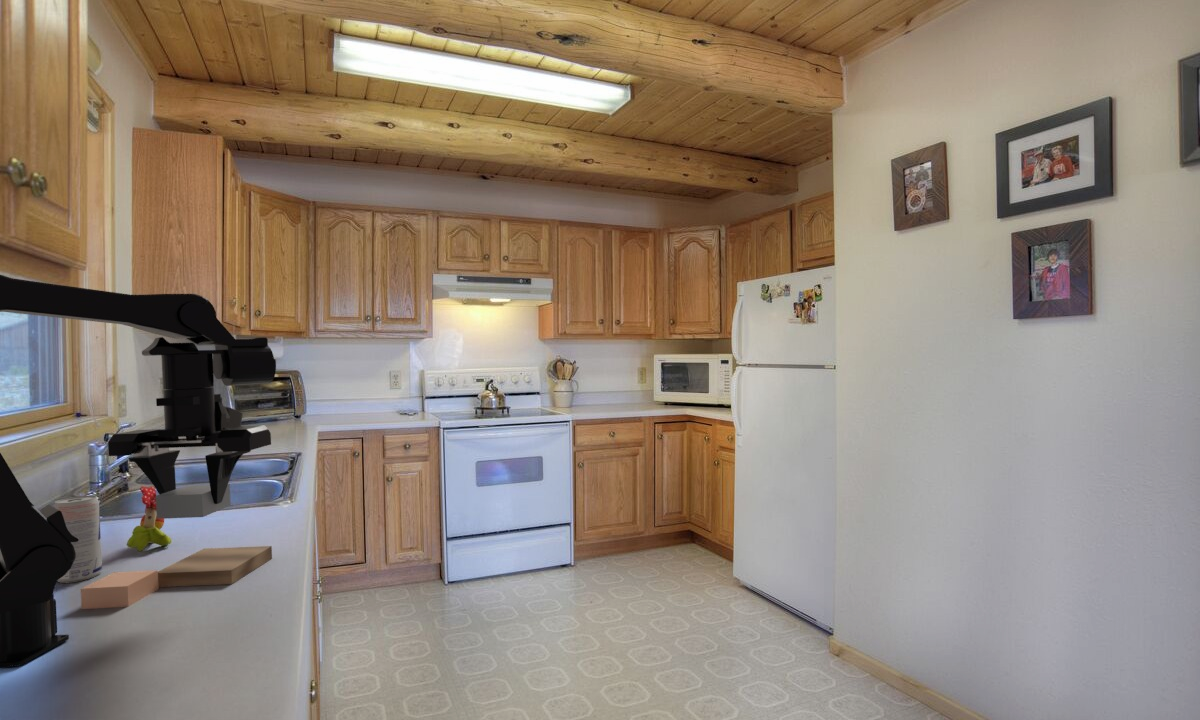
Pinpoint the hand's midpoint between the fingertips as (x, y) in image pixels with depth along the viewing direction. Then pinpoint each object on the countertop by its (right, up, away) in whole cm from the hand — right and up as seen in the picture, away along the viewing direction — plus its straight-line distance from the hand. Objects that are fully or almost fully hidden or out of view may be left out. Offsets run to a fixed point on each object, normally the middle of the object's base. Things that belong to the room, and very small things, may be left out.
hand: (194, 504), depth 82 cm
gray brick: (0, -1, 0) cm, 1 cm away
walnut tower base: (-4, -13, +11) cm, 18 cm away
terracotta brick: (-11, -14, +2) cm, 18 cm away
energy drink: (-25, -14, +11) cm, 31 cm away
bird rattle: (-25, -14, +26) cm, 39 cm away
